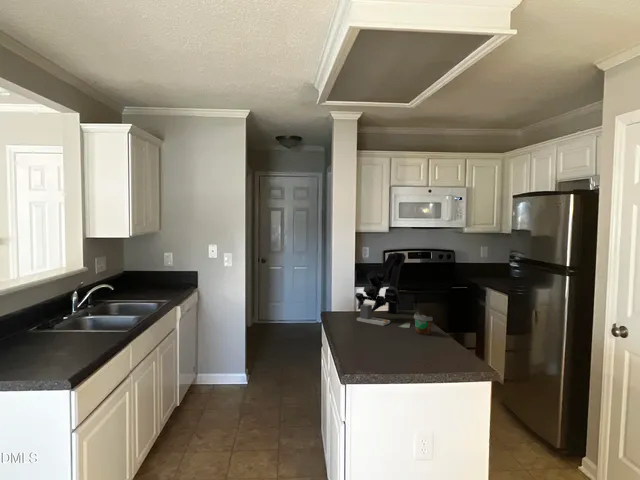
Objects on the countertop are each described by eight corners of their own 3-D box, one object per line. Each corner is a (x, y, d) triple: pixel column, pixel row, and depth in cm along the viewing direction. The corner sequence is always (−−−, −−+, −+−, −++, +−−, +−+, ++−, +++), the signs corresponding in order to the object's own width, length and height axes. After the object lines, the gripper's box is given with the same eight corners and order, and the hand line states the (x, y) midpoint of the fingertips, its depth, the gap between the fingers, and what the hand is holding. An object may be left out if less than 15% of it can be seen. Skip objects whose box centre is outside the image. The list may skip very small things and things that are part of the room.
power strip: (356, 322, 259) (356, 317, 258) (363, 319, 265) (364, 314, 265) (383, 327, 248) (383, 321, 248) (389, 324, 255) (390, 319, 254)
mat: (394, 323, 258) (394, 322, 258) (410, 324, 256) (410, 323, 256) (392, 326, 250) (392, 326, 250) (409, 328, 247) (409, 327, 247)
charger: (364, 318, 263) (364, 303, 262) (371, 320, 260) (372, 304, 259) (359, 320, 259) (360, 305, 258) (367, 321, 256) (367, 306, 256)
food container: (408, 330, 242) (409, 312, 241) (417, 329, 244) (418, 311, 244) (422, 336, 231) (423, 317, 230) (432, 335, 233) (432, 316, 233)
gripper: (357, 279, 267) (346, 300, 259) (384, 282, 256) (374, 304, 248) (363, 290, 274) (353, 311, 266) (390, 294, 263) (380, 315, 255)
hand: (365, 310), depth 258 cm, fingers open, 9 cm apart
